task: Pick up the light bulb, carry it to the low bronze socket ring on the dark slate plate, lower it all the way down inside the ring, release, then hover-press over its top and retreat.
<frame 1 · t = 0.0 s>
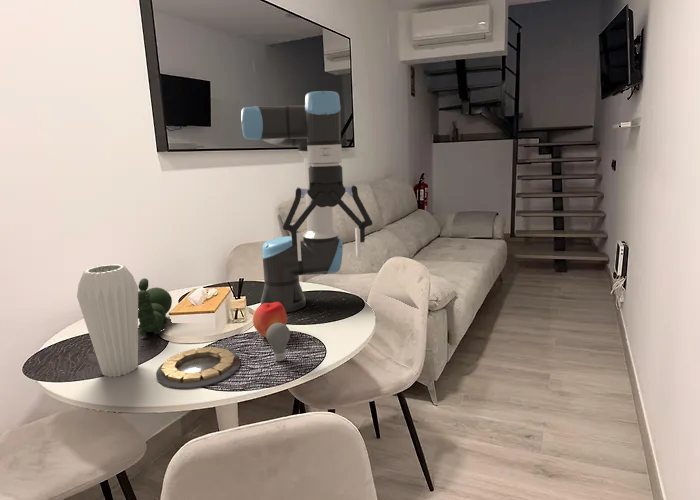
hand: (329, 257, 110), 28 cm above the table, fingers open, 13 cm apart
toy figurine: (155, 328, 147), on the table
vase: (120, 370, 120), on the table
light bulb: (280, 360, 122), on the table
apple: (271, 337, 137), on the table
socket: (199, 368, 119), on the table
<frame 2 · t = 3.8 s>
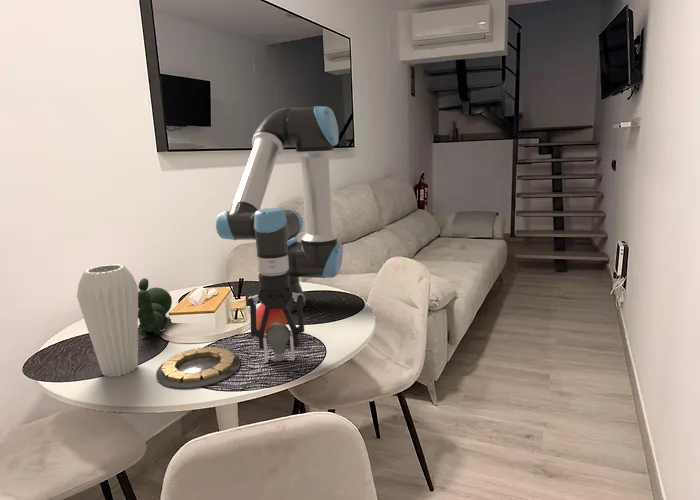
hand: (279, 358, 122), 0 cm above the table, fingers closed on light bulb, 6 cm apart
light bulb: (280, 360, 122), on the table, touching gripper
everything else where it was.
when the fingers open (2 cm above the table, at t = 10.2 s): light bulb moves 2 cm, resting on socket.
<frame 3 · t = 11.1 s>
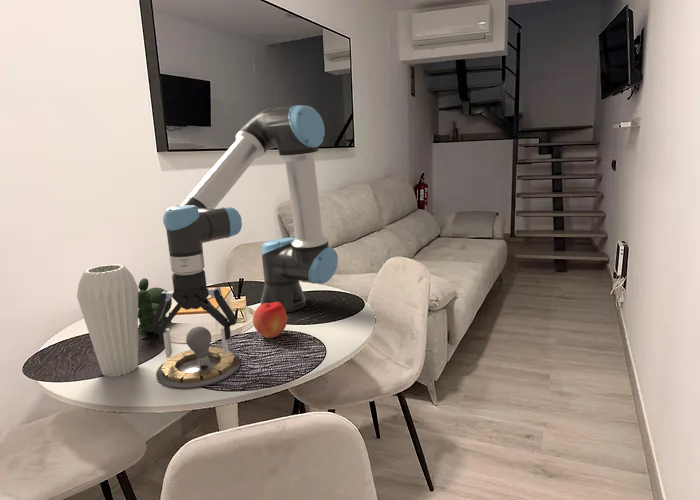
hand: (197, 353, 118), 4 cm above the table, fingers open, 13 cm apart
light bulb: (204, 365, 119), point 1 cm above the table, touching socket
everything else where it was.
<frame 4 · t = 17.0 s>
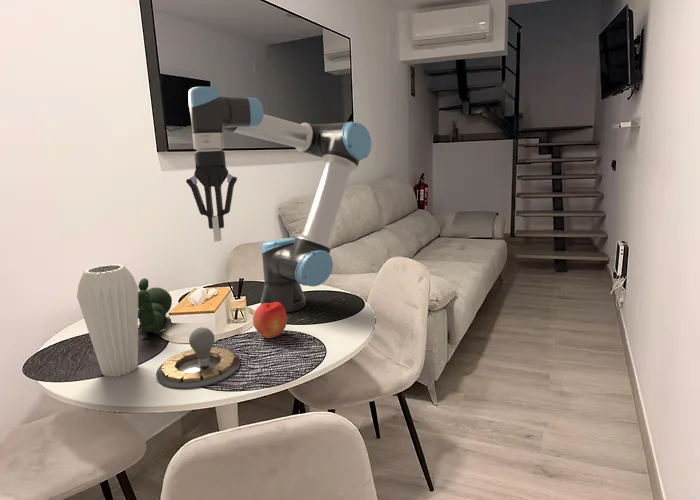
hand: (217, 240, 127), 29 cm above the table, fingers closed
at the end: light bulb 1.4 cm from the socket (horizontally); light bulb resting on socket; light bulb tilted 0° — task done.
